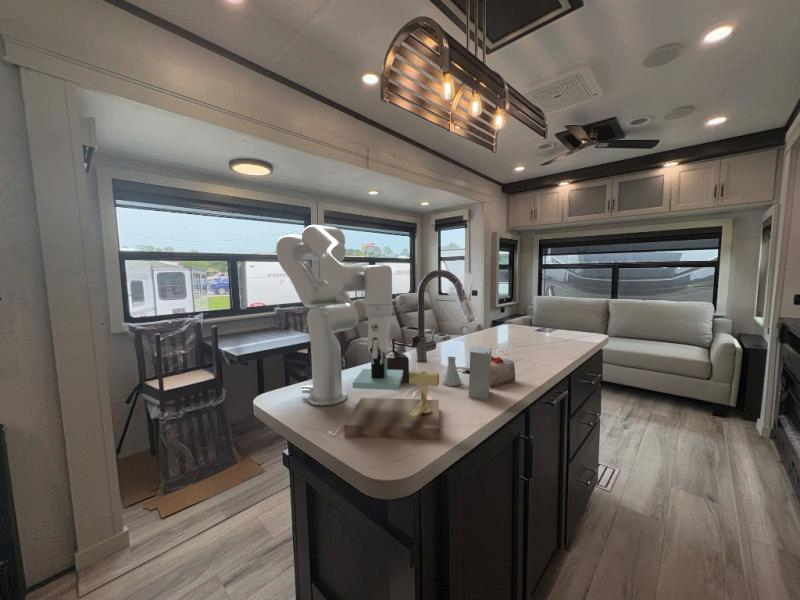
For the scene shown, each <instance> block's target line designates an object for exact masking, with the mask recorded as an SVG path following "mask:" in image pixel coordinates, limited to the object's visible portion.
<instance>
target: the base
mask: <svg viewBox="0 0 800 600" xmlns="http://www.w3.org/2000/svg"><path fill="white" fill-rule="evenodd" d="M420 402H421V398H384V397H383V398H381V397H380V398H379V397H377V398H375V397H361V398H360V399H359V401H358V402H357V403H356V406H355V407H354V408H353V410H352V412H351V413H350V415H349V417H348V418H347V419H346V421H345V423H344V425H343V428H344V429H343V430H344V432H343V433H344V437H355V438H356V437H358V438H359V437H360V438H377V439H378V438H380V439H408V440H428V441H429V440H430V441H440V400H439V399H427V403H428V406H430V407H431V408H432V412H431V413H429V414H421V415H420V416H419V417H418V418H417V419H416V420H413V419H408V415H409V414H410V413H411V412H412V411H413V409H414V408H415V407H416V406H417V405H418V404H419V403H420Z"/></svg>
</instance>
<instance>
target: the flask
mask: <svg viewBox="0 0 800 600" xmlns="http://www.w3.org/2000/svg"><path fill="white" fill-rule="evenodd" d="M456 360H457V357H456V356H447V368H446V369H445V373H444V376H443V379H442V382H441V383H442V384H443V385H444V386H450V387H455V386H456V387H457V386H460V385H462V380H461V378H460V375H459V372H458V370H457V365H456Z"/></svg>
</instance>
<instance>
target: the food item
mask: <svg viewBox="0 0 800 600" xmlns="http://www.w3.org/2000/svg"><path fill="white" fill-rule="evenodd" d="M515 366H516V365H515V362H514V361H513V360H511V359H510V358H501V357H500V356H498V357H494V356H493V355H491V371H490V388H491V387H492V388H493V387H496V386H499V384H500V385H503V384H509V383H512V381H514V382H516V380H517V379H516V367H515ZM508 382H509V383H508Z"/></svg>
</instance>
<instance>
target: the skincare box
mask: <svg viewBox="0 0 800 600" xmlns="http://www.w3.org/2000/svg"><path fill="white" fill-rule="evenodd" d="M491 356H492V347H487V346H479V345H478V346H477V345H473V346H472V348H471V350H470V352H469V380H468V381H469V382H468V384H469V385H468V398H473V399H479V400H489V396H490V388H491V387H490V371H491Z"/></svg>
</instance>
